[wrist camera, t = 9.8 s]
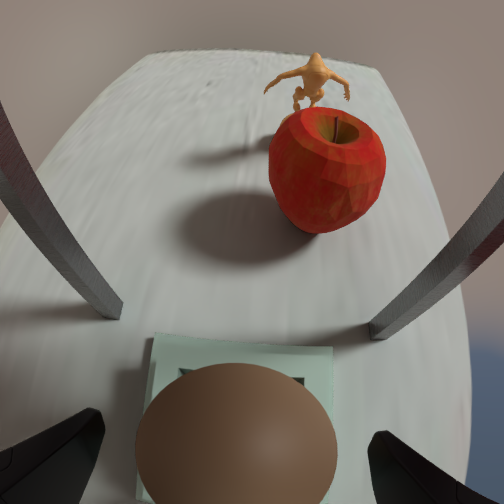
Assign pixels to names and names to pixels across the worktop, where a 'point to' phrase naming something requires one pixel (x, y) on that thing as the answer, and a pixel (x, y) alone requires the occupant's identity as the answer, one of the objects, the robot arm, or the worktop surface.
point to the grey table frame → (110, 305)
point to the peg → (236, 439)
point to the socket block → (217, 352)
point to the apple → (325, 168)
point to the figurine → (311, 81)
